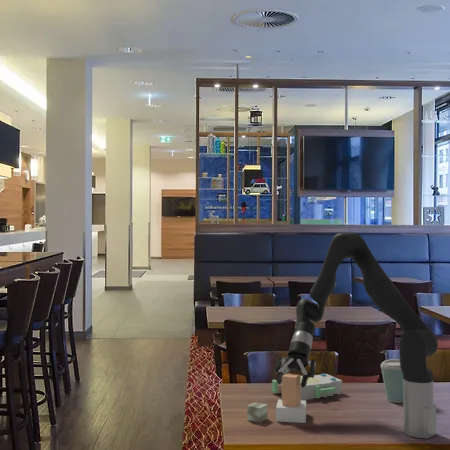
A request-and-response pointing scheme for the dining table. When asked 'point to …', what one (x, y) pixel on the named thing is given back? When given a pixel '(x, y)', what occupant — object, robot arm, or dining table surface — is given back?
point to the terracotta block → (291, 389)
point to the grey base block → (291, 412)
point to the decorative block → (315, 387)
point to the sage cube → (257, 412)
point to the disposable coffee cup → (393, 380)
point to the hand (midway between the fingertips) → (290, 385)
